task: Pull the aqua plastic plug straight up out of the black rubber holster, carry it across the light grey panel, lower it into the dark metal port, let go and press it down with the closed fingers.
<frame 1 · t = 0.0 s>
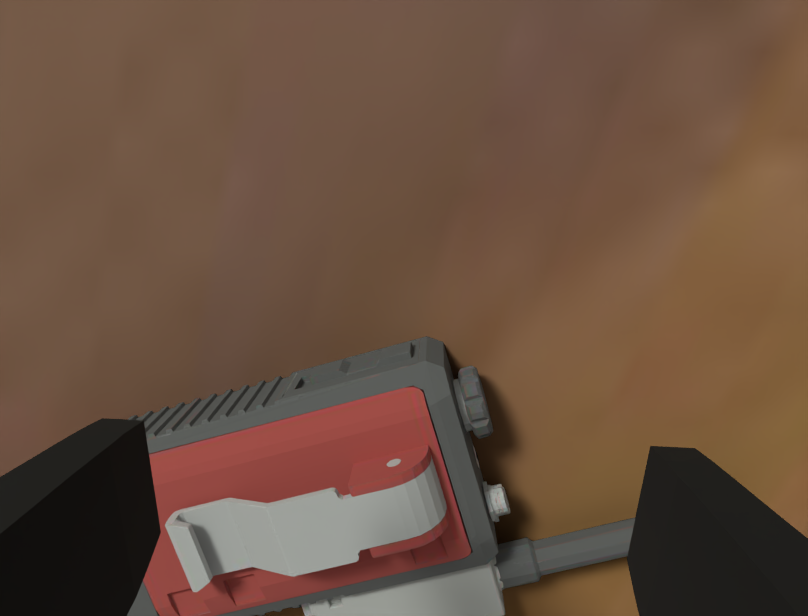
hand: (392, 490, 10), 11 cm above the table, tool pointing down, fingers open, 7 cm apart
walkie-talkie: (403, 466, 22), on the table
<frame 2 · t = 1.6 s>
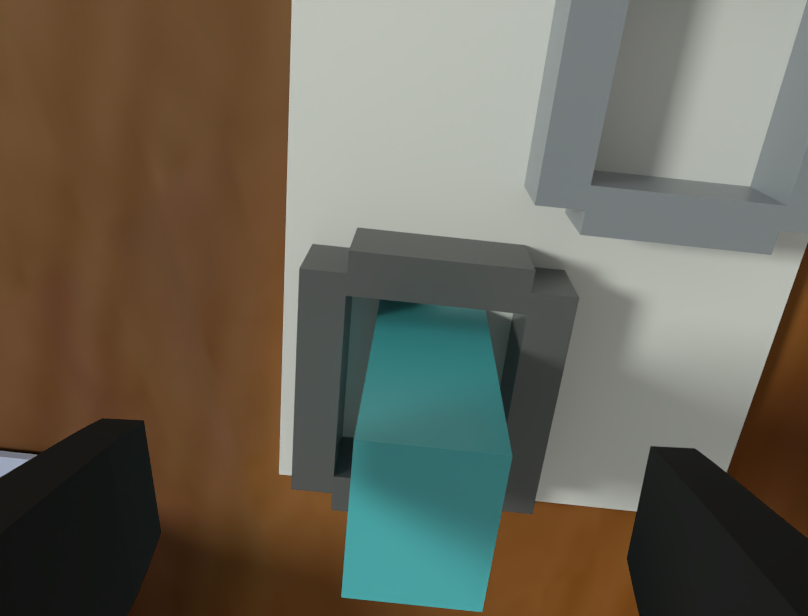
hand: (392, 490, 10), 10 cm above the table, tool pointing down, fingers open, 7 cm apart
panel: (541, 222, 19), on the table
plug: (425, 365, 20), point 1 cm above the table, touching panel
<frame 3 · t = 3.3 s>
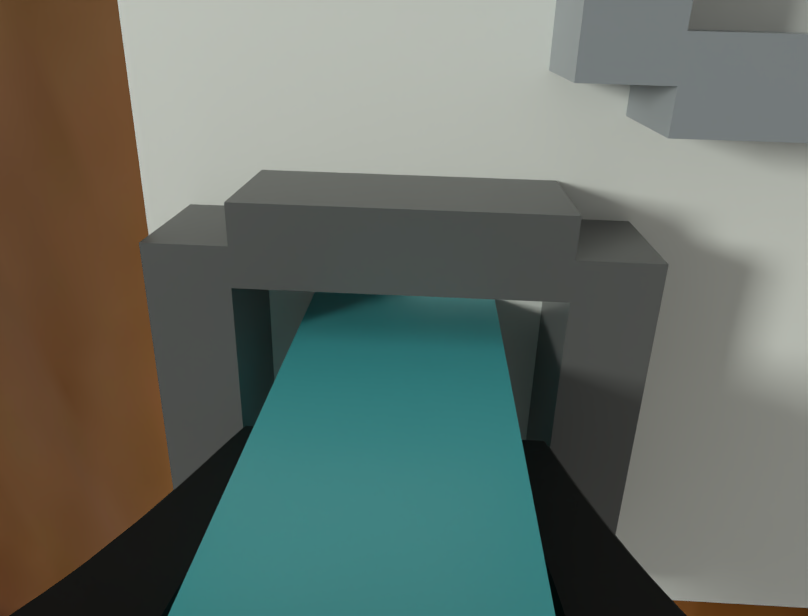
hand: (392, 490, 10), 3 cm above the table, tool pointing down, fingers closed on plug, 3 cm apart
panel: (582, 142, 11), on the table
plug: (401, 396, 12), point 1 cm above the table, touching gripper, panel
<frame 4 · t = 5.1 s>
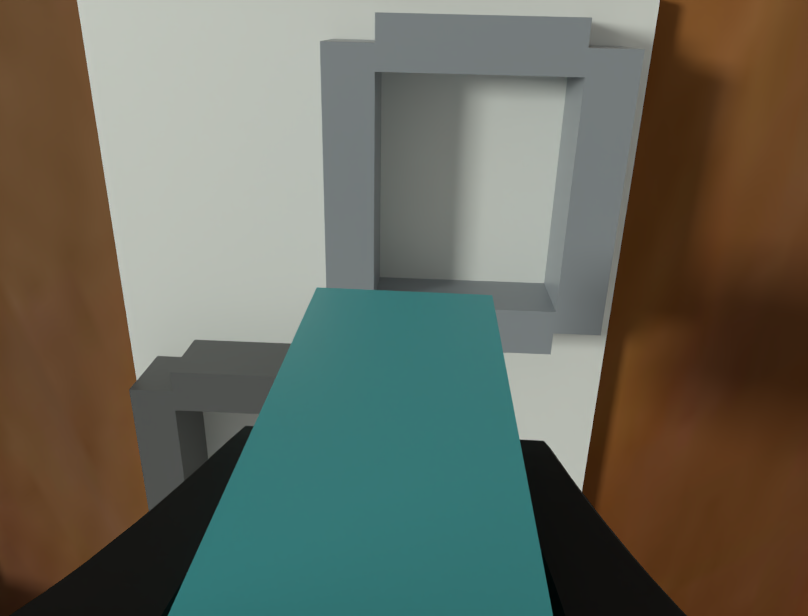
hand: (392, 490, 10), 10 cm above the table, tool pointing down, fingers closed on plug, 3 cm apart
panel: (365, 322, 20), on the table
plug: (401, 392, 12), point 8 cm above the table, touching gripper
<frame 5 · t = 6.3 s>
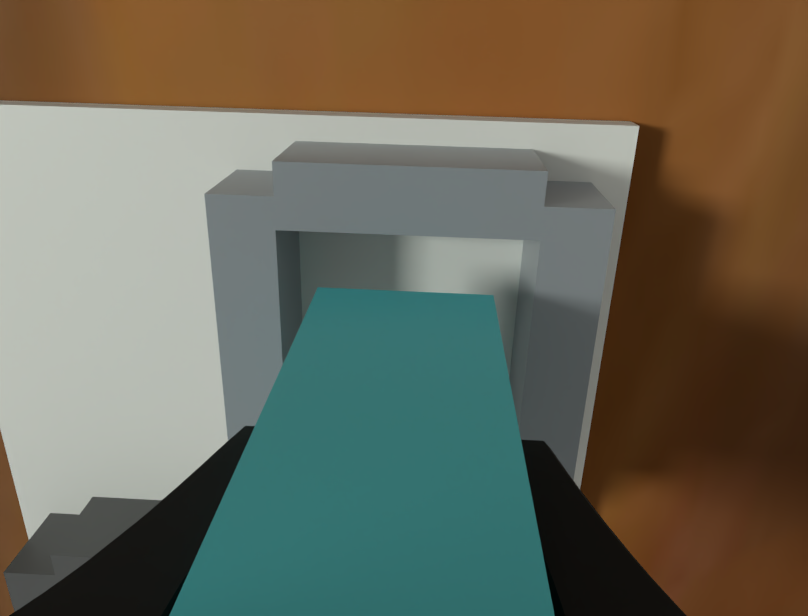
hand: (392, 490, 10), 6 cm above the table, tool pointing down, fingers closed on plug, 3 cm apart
panel: (295, 475, 17), on the table
plug: (402, 392, 12), point 3 cm above the table, touching gripper
when the fingers open (4 cm above the table, at t = 7.1 s): plug stays where it is, resting on panel.
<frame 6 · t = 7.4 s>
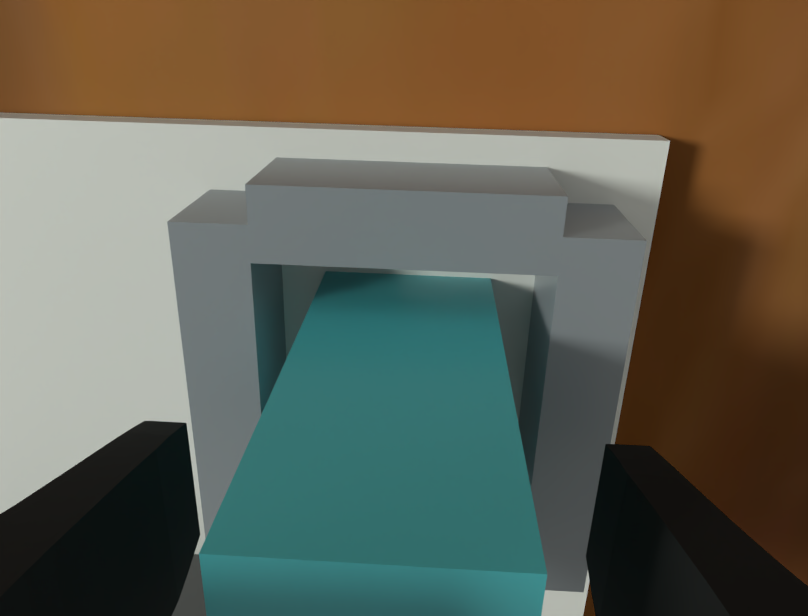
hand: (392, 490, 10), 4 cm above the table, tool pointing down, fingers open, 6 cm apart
panel: (281, 522, 15), on the table
plug: (404, 371, 13), point 1 cm above the table, touching panel
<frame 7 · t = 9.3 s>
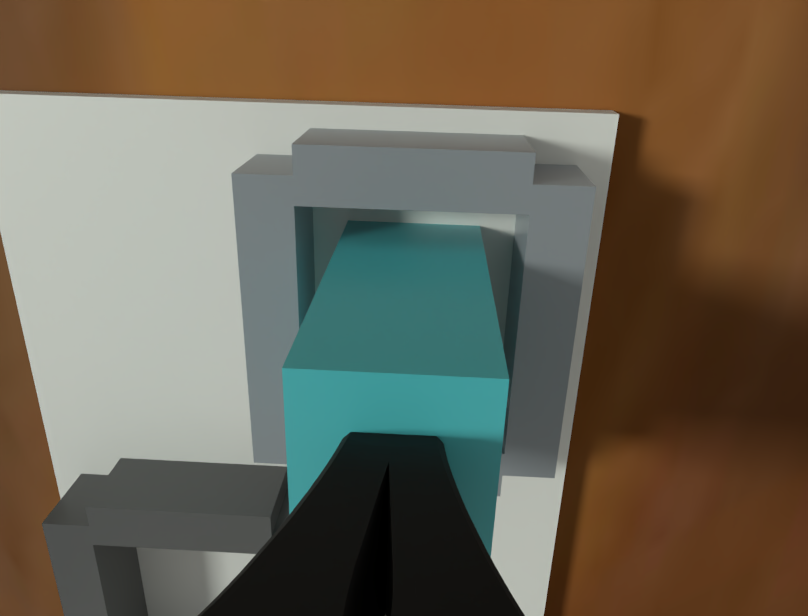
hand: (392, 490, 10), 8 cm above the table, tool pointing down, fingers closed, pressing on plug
panel: (307, 439, 18), on the table
plug: (410, 303, 16), point 1 cm above the table, touching gripper, panel
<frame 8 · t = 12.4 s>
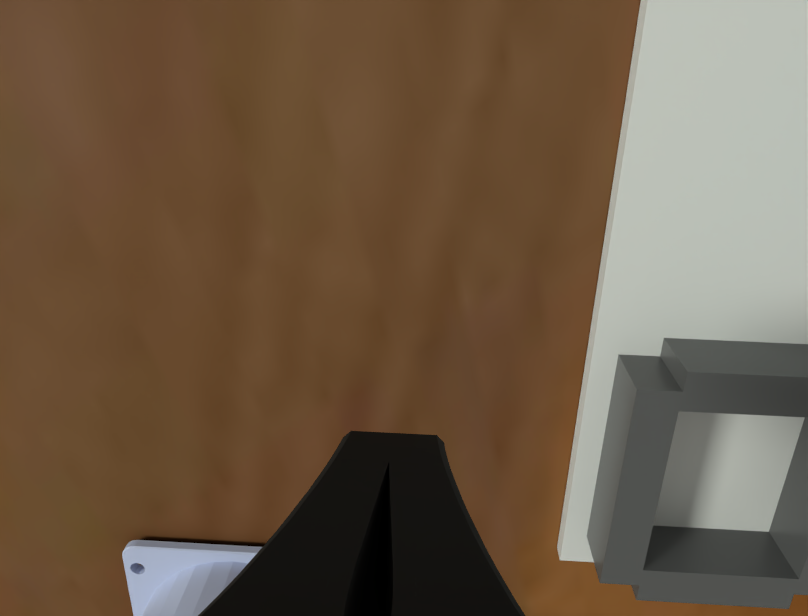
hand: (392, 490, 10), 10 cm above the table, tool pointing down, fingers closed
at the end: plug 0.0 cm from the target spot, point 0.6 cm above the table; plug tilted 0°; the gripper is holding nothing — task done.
